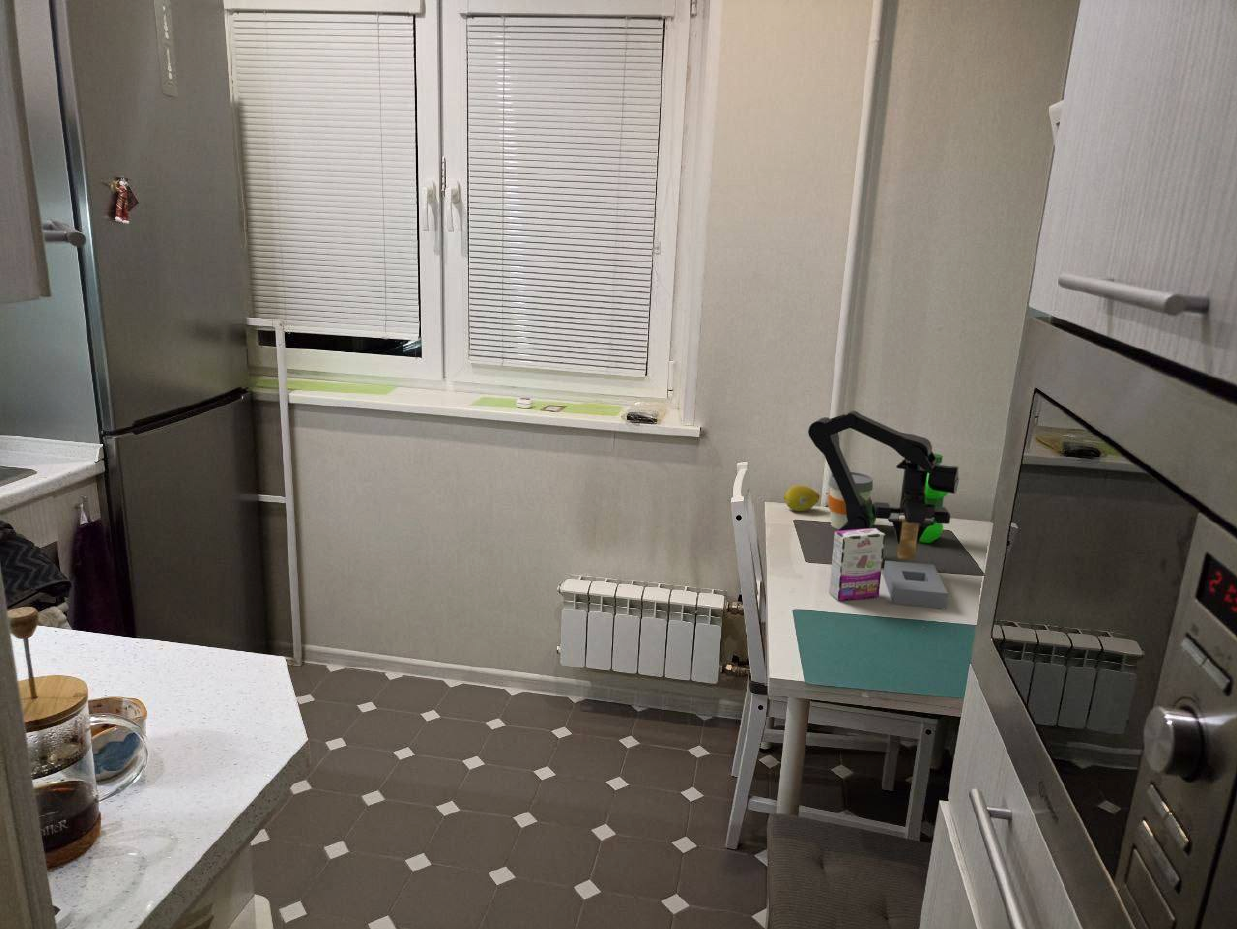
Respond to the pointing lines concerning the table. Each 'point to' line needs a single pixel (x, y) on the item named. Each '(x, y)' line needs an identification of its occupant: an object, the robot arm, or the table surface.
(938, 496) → the plastic bottle
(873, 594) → the candy bar box
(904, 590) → the socket block
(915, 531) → the peg
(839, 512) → the reusable coffee cup
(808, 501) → the lemon
